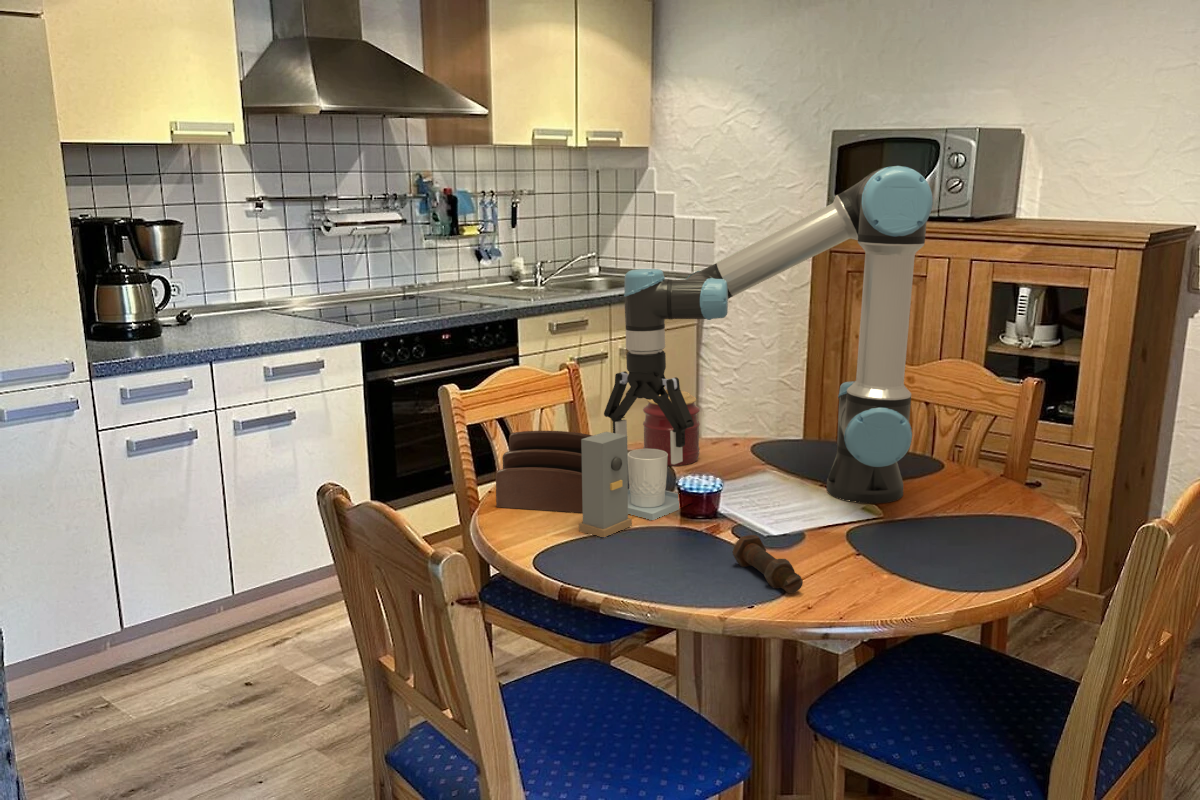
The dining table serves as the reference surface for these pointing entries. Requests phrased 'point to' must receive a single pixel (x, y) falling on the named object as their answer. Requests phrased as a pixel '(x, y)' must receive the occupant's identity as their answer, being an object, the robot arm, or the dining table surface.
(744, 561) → the bolt
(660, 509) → the tray
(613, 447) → the control box
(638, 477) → the white cup
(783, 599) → the dining table surface
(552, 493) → the letter holder
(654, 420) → the canister
